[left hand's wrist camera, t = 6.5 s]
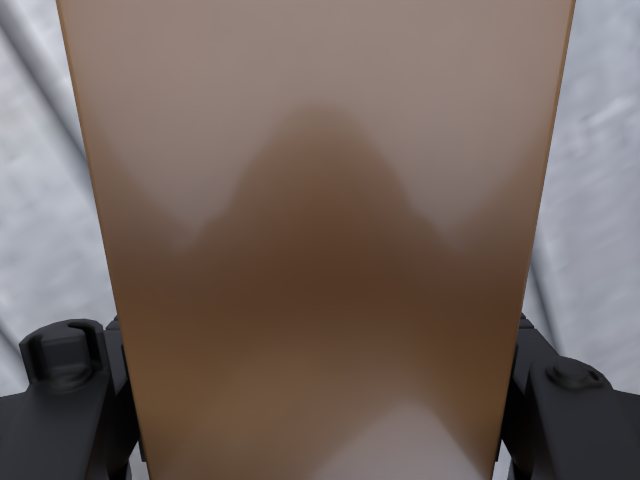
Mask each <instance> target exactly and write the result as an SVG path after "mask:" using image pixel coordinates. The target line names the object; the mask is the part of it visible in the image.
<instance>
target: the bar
mask: <svg viewBox="0 0 640 480" xmlns="http://www.w3.org/2000/svg"><path fill="white" fill-rule="evenodd" d="M575 2H576V0H56V4H57V9H58V15H59V20H60V25H61V30H62V35H63V40H64V45H65V50H66V55H67V60H68V66H69V71H70V76H71V81H72V86H73V91H74V96H75V101H76V106H77V111H78V117H79V122H80V127H81V132H82V137H83V142H84V147H85V152H86V157H87V162H88V168H89V173H90V178H91V183H92V188H93V193H94V198H95V203H96V208H97V213H98V218H99V224H100V229H101V234H102V239H103V244H104V249H105V254H106V259H107V264H108V269H109V275H110V280H111V285H112V290H113V295H114V300H115V305H116V310H117V315H118V320H119V326H120V331H121V336H122V341H123V346H124V351H125V356H126V361H127V366H128V371H129V377H130V382H131V387H132V392H133V397H134V402H135V407H136V412H137V417H138V422H139V428H140V433H141V438H142V443H143V448H144V453H145V458H146V463H147V468H148V473H149V479H150V480H492V477H493V471H494V465H495V460H496V454H497V448H498V442H499V437H500V431H501V425H502V420H503V414H504V408H505V402H506V397H507V391H508V385H509V379H510V374H511V368H512V362H513V357H514V351H515V345H516V339H517V334H518V328H519V322H520V317H521V311H522V305H523V299H524V294H525V288H526V282H527V277H528V271H529V265H530V259H531V254H532V248H533V242H534V237H535V231H536V225H537V219H538V214H539V208H540V202H541V196H542V191H543V185H544V179H545V174H546V168H547V162H548V156H549V151H550V145H551V139H552V134H553V128H554V122H555V116H556V111H557V105H558V99H559V94H560V88H561V82H562V76H563V71H564V65H565V59H566V54H567V48H568V42H569V36H570V31H571V25H572V19H573V13H574V8H575Z"/></svg>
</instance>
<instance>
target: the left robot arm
mask: <svg viewBox="0 0 640 480" xmlns="http://www.w3.org/2000/svg"><path fill="white" fill-rule="evenodd" d="M19 347H20V351H21V354H22V358H23V361H24V365H25V369H26V372H27V376H28V379H29V383H30V385H29V387H28V388H27V390H26V392H23V393H19V394H14V395H9V396H4V397H0V480H132V475H131V468H130V463H129V457H130V455H131V453H132V451H133V449H134V447H135V445H136V443H137V441H138V443H139V448H140V454H141V459H142V462H146V458H145V453H144V448H143V443H142V438H141V433H140V428H139V422H138V417H137V412H136V407H135V402H134V397H133V392H132V387H131V382H130V377H129V371H128V366H127V361H126V356H125V351H124V346H123V341H122V336H121V331H120V326H119V320H118V315H117V316H116V317H115V318H114V321H111V322H110V324H109V325H108V326H107V327H106V330H104V331H103V326H102V325H101V324H100V323H98V322H97V321H94V320H89V319H70V320H65V321H61V322H56V323H53V324H50V325H47V326H45V327H42V328H39V329H38V330H36V331H34V332H33V333H31V334H29V335H27V336H26V337H25V338H24V339H23V340H22V341H21V342H20V343H19ZM502 440H503V442H504V444H505V446H506V448H507V450H508V452H509V453H510V455H511V457H512V458H511V463H510V468H509V473H508V478H507V480H640V395H636V394H631V393H626V392H621V391H617V390H613V388H612V386H611V384H610V382H609V381H608V380H607V379H606V378H605V376H604V375H603V374H602V373H600V372H599V371H597V370H596V369H594V368H593V367H591V366H590V365H587V364H585V363H583V362H580V361H578V360H575V359H571V358H567V357H563V356H560V355H559V354H558V353H557V352H556V351H555V350H554V349H553V347H552V346H551V345H550V344H549V343H548V342H547V341H546V339H545V338H544V337H543V336H542V335H541V334H540V333H539V331H538V330H537V329H534V326H533V324H532V323H531V322H530V321H529V320H528V319H526V316H525V315H524V314H523V313H522V312H521V317H520V322H519V328H518V334H517V339H516V345H515V351H514V357H513V362H512V368H511V374H510V379H509V385H508V391H507V397H506V402H505V408H504V414H503V420H502V425H501V431H500V437H499V442H498V448H497V454H496V460H495V462H498V457H499V452H500V446H501V441H502Z"/></svg>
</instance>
